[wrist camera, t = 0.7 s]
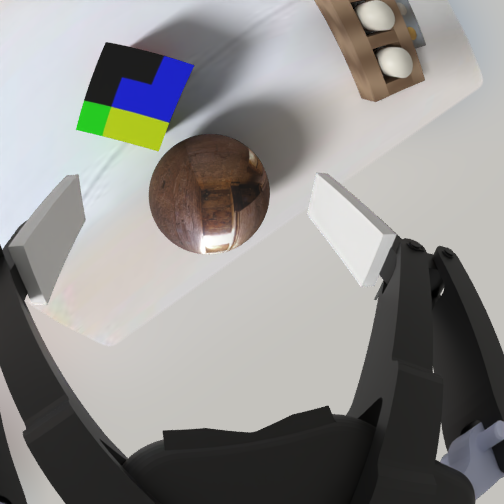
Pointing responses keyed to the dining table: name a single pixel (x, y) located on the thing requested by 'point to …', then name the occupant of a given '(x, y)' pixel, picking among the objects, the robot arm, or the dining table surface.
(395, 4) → the button board
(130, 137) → the puzzle toy
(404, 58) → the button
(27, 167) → the dining table surface
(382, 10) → the middle button
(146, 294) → the dining table surface
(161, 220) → the wooden sphere
